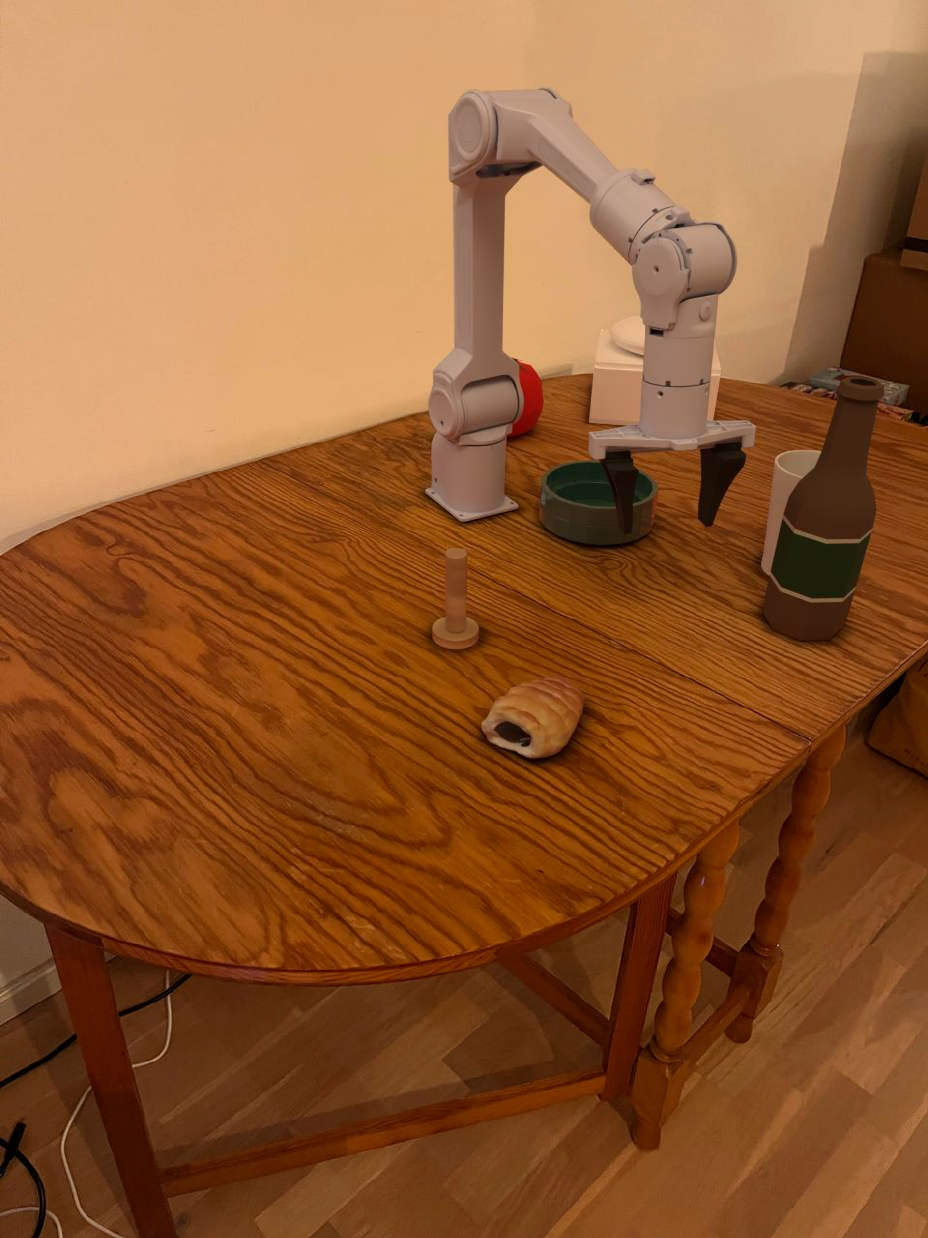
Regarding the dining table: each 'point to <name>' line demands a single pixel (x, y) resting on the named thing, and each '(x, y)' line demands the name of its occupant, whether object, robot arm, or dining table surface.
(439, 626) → the peg on round base
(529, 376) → the tomato
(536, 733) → the pastry
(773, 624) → the beer bottle
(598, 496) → the bowl
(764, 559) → the cup
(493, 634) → the dining table surface
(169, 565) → the dining table surface
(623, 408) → the butter dish
